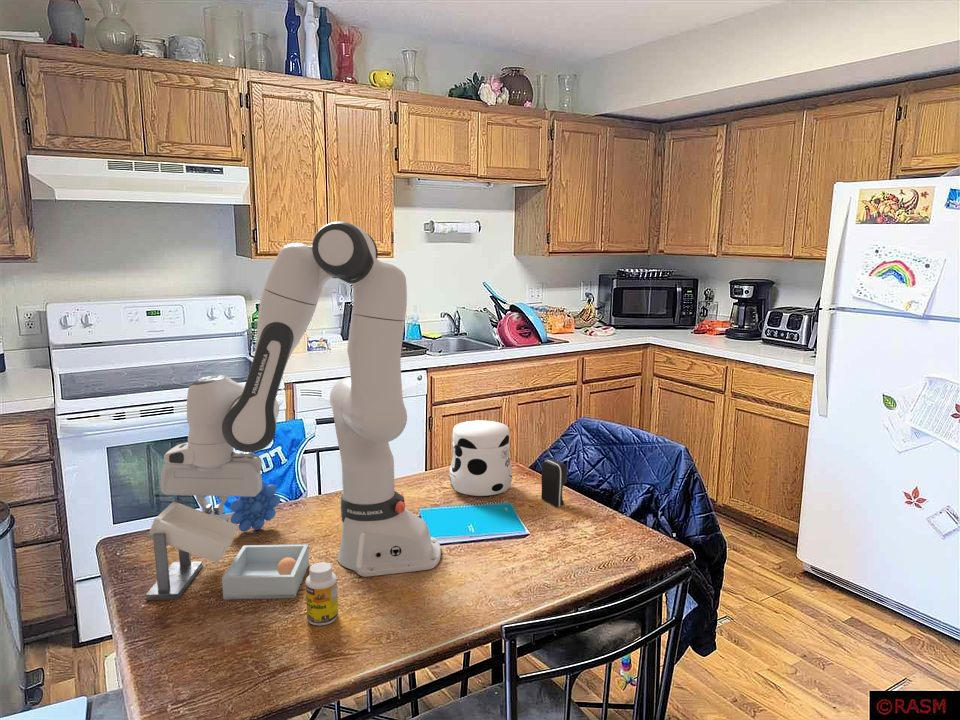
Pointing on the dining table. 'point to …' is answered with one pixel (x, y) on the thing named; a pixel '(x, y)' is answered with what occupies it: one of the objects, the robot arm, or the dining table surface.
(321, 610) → the supplement bottle
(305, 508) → the dining table surface
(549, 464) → the battery charger
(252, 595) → the pale blue tray
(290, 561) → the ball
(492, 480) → the spotted cookie jar
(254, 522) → the grapes
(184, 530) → the tipping trough
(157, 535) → the trough stand
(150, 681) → the dining table surface
